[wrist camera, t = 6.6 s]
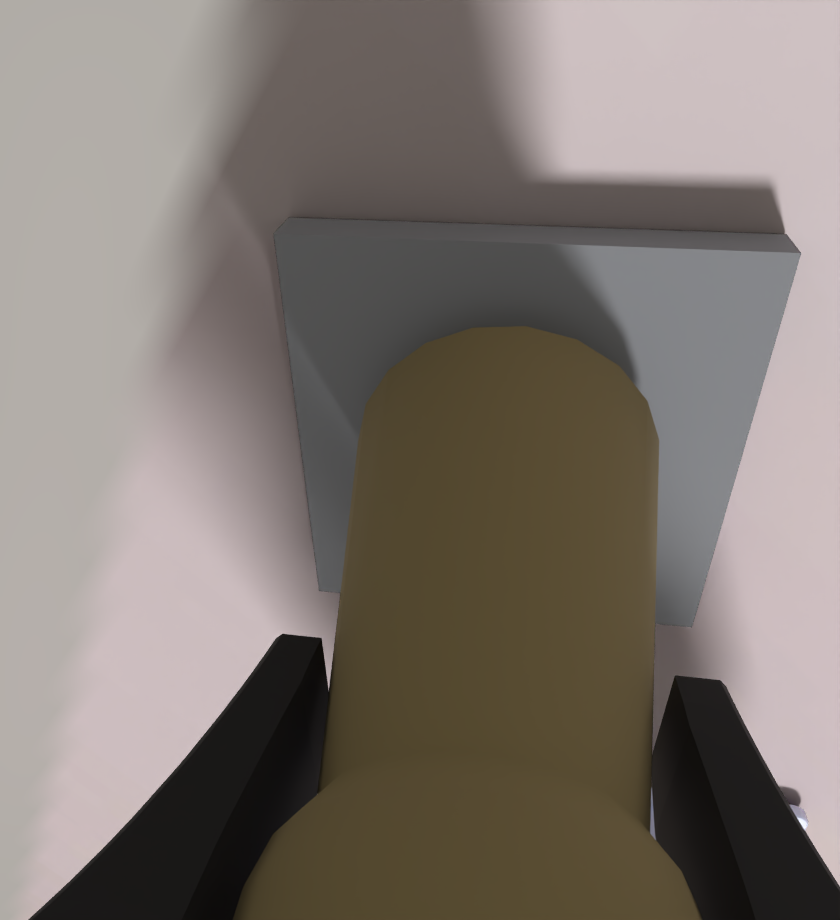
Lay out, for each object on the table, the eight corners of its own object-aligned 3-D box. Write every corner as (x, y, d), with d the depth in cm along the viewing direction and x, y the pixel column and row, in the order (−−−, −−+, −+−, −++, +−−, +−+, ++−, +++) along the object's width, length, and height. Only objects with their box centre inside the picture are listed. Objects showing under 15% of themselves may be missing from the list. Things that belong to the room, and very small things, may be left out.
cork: (302, 458, 16) (11, 1149, 7) (496, 257, 13) (391, 1085, 4) (509, 601, 18) (475, 1285, 9) (726, 460, 14) (995, 1320, 6)
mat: (685, 598, 19) (691, 627, 18) (328, 564, 20) (319, 591, 20) (786, 233, 14) (801, 253, 13) (288, 217, 15) (273, 233, 14)
